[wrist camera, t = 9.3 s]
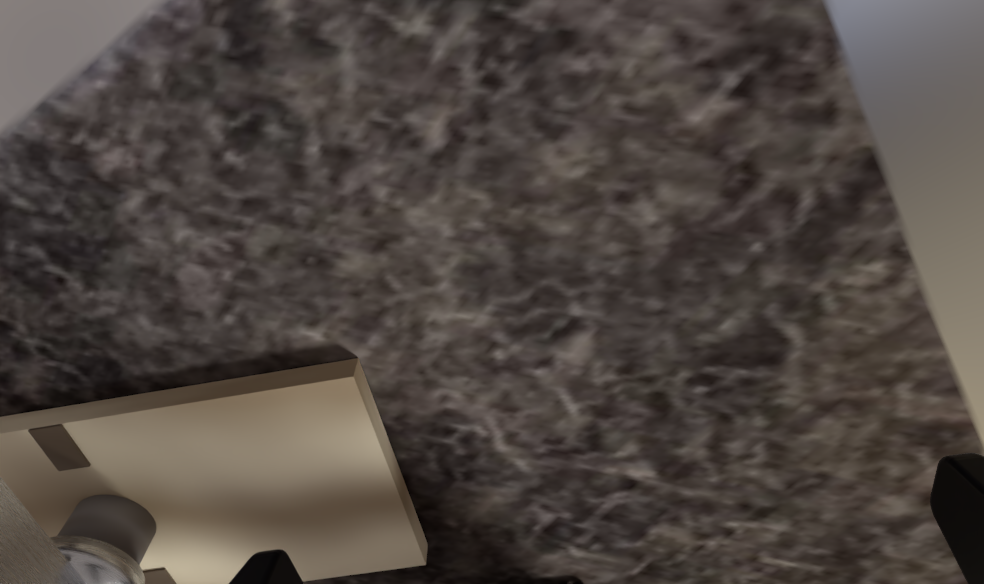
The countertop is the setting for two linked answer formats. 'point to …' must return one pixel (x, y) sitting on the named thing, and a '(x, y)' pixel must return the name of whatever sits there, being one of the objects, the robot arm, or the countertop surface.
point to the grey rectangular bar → (56, 553)
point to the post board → (223, 476)
